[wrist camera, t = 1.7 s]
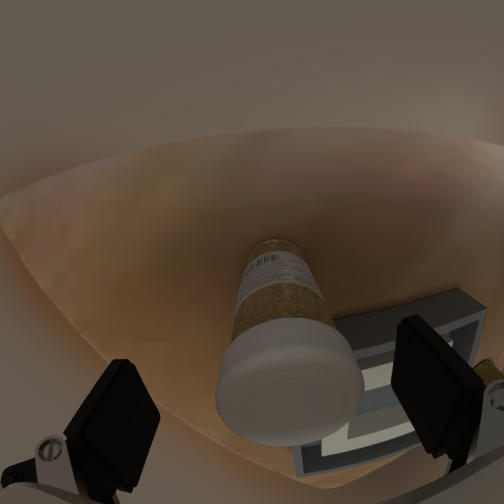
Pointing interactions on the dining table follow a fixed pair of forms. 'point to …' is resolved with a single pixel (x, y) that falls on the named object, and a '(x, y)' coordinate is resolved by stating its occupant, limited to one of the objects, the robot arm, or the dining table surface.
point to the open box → (376, 342)
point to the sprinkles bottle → (285, 355)
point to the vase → (488, 372)
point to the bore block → (375, 422)
